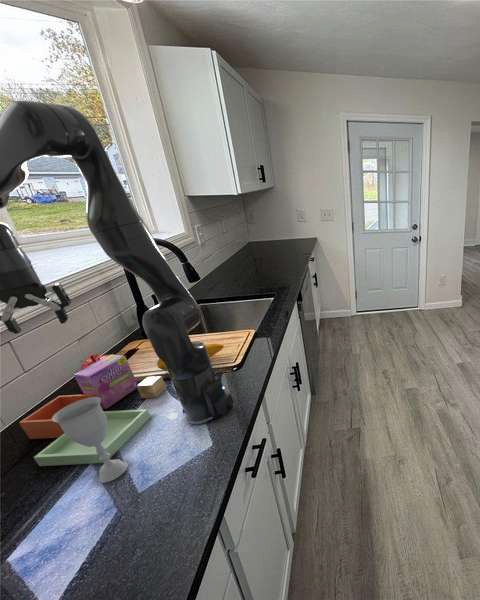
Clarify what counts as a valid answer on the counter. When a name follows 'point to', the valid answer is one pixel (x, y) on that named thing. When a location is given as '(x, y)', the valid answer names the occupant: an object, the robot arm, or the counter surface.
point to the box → (107, 379)
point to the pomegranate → (92, 360)
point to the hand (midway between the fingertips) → (42, 327)
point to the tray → (70, 452)
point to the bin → (49, 418)
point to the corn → (211, 351)
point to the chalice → (90, 432)
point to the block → (151, 387)
